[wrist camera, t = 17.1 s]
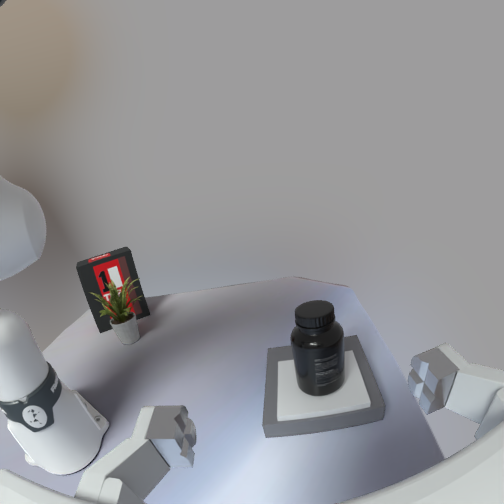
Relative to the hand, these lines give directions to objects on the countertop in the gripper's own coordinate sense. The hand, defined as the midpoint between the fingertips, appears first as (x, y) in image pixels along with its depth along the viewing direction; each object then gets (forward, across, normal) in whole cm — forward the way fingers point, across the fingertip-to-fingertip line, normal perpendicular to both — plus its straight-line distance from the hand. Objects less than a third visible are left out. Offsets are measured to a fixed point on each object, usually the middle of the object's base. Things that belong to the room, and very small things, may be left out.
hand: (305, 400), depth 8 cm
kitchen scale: (+25, -6, +25) cm, 36 cm away
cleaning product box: (+64, +43, +26) cm, 82 cm away
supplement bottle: (+22, -5, +21) cm, 31 cm away
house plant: (+51, +34, +26) cm, 66 cm away
